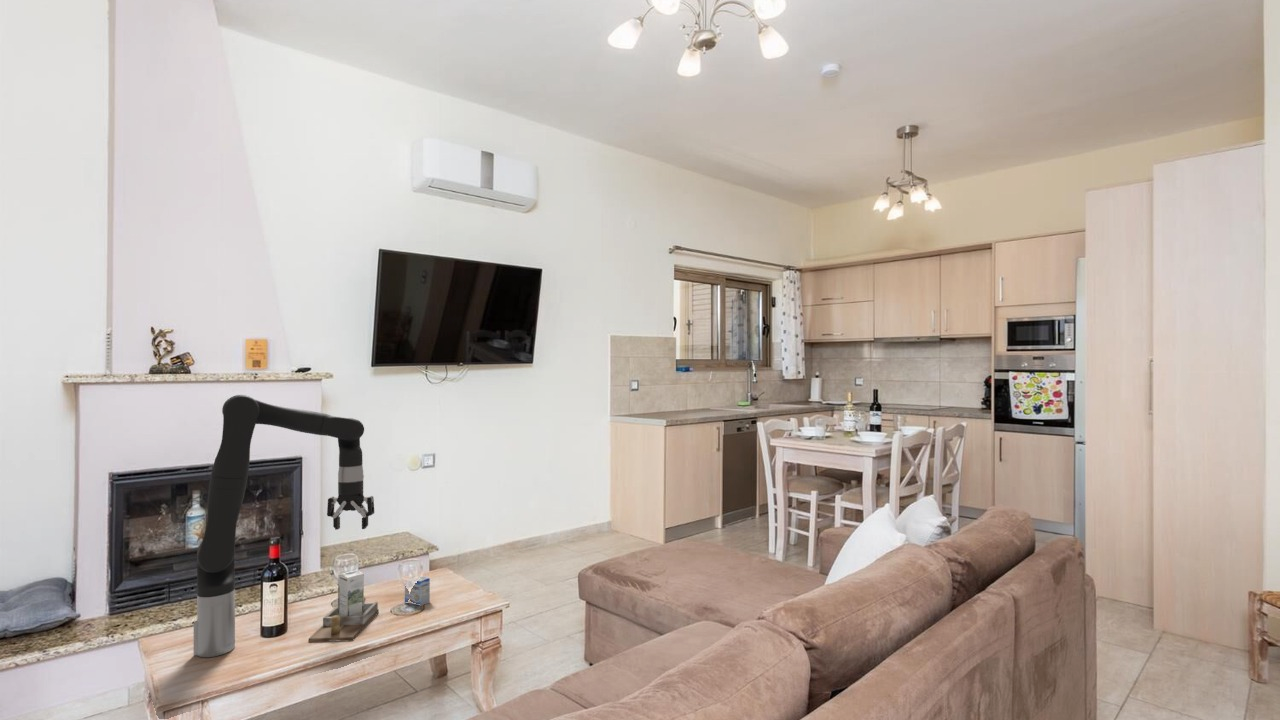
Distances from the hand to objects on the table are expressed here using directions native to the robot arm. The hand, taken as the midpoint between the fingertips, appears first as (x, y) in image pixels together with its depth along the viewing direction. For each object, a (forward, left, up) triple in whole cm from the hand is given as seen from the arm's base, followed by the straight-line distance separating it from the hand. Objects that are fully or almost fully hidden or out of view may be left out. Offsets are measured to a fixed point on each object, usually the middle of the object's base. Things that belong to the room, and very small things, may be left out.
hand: (350, 528), depth 205 cm
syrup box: (0, 0, -29) cm, 29 cm away
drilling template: (0, -4, -30) cm, 30 cm away
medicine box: (+17, +15, -30) cm, 38 cm away
